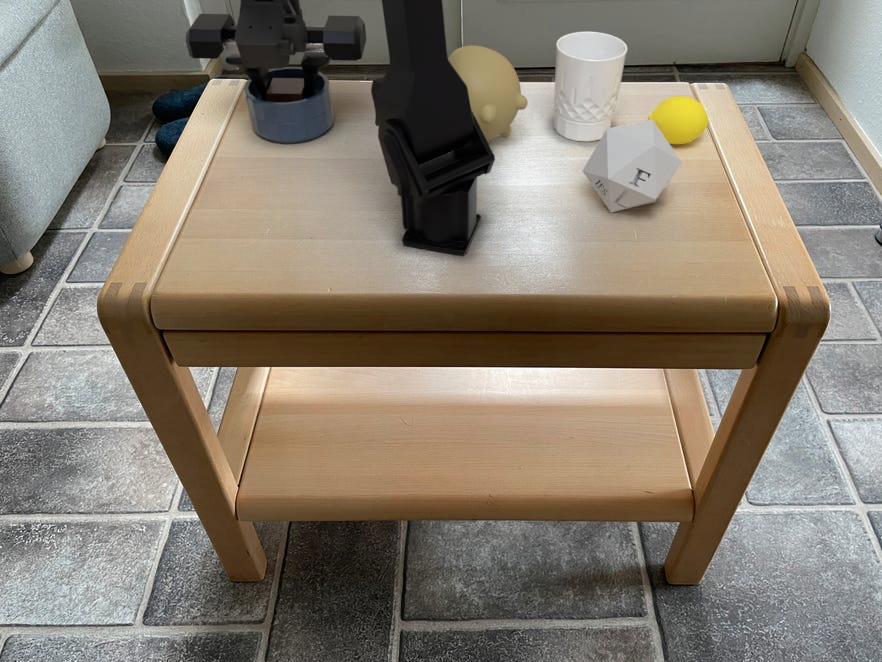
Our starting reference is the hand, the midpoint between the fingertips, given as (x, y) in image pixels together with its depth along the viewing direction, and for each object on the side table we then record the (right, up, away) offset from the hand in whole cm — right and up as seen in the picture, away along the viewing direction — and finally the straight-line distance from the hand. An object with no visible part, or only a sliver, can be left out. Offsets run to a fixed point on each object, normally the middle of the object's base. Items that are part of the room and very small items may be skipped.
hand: (290, 109), depth 88 cm
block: (0, -1, +1) cm, 1 cm away
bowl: (0, -1, +1) cm, 2 cm away
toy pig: (+22, -4, 0) cm, 22 cm away
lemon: (+45, -4, 0) cm, 45 cm away
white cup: (+35, -2, +2) cm, 35 cm away
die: (+38, -13, -9) cm, 41 cm away
